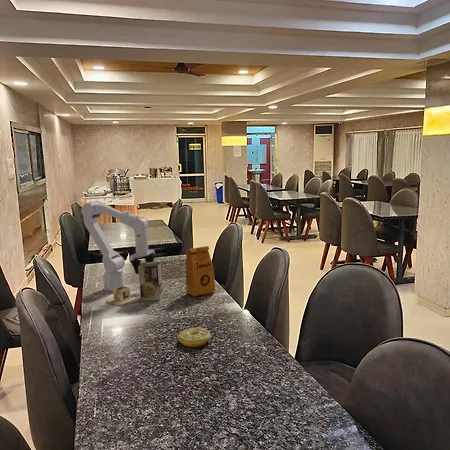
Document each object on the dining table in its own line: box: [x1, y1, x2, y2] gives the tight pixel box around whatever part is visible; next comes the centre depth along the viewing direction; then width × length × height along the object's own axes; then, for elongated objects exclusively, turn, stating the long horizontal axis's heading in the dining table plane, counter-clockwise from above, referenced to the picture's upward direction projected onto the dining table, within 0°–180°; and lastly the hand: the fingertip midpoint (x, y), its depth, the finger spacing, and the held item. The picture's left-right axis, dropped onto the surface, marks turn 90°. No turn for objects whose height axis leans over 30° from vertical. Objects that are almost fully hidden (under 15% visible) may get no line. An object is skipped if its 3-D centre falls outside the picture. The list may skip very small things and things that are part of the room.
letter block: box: [112, 285, 131, 302], centre depth 180 cm, size 5×5×5 cm
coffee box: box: [138, 261, 164, 302], centre depth 182 cm, size 9×6×16 cm
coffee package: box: [184, 245, 216, 297], centre depth 186 cm, size 10×12×22 cm
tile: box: [105, 295, 139, 308], centre depth 181 cm, size 11×9×1 cm
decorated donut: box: [178, 326, 212, 348], centre depth 139 cm, size 10×11×4 cm
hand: (143, 271), depth 193 cm, fingers open, 7 cm apart
